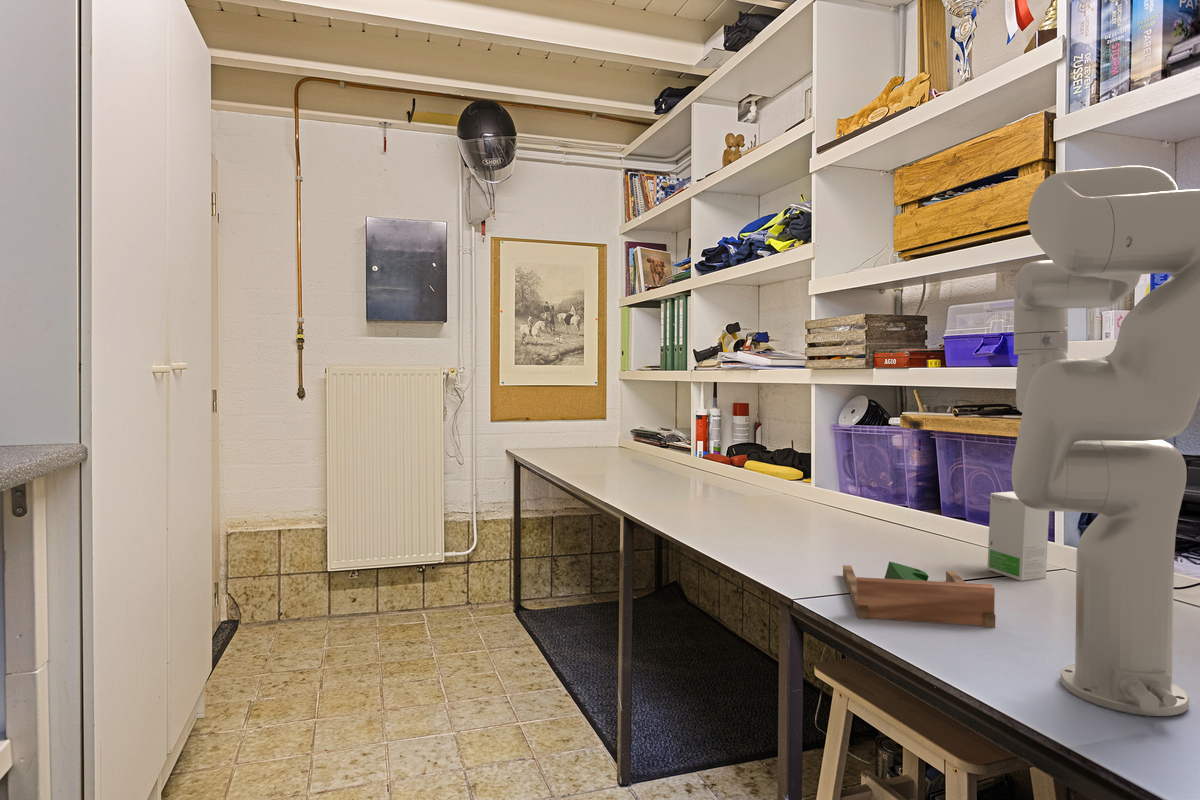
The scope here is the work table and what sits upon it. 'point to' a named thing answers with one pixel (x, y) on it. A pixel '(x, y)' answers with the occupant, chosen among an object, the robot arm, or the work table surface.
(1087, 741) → the work table surface
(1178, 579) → the work table surface
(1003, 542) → the skincare box
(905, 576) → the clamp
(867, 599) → the brown wooden tray
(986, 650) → the work table surface
